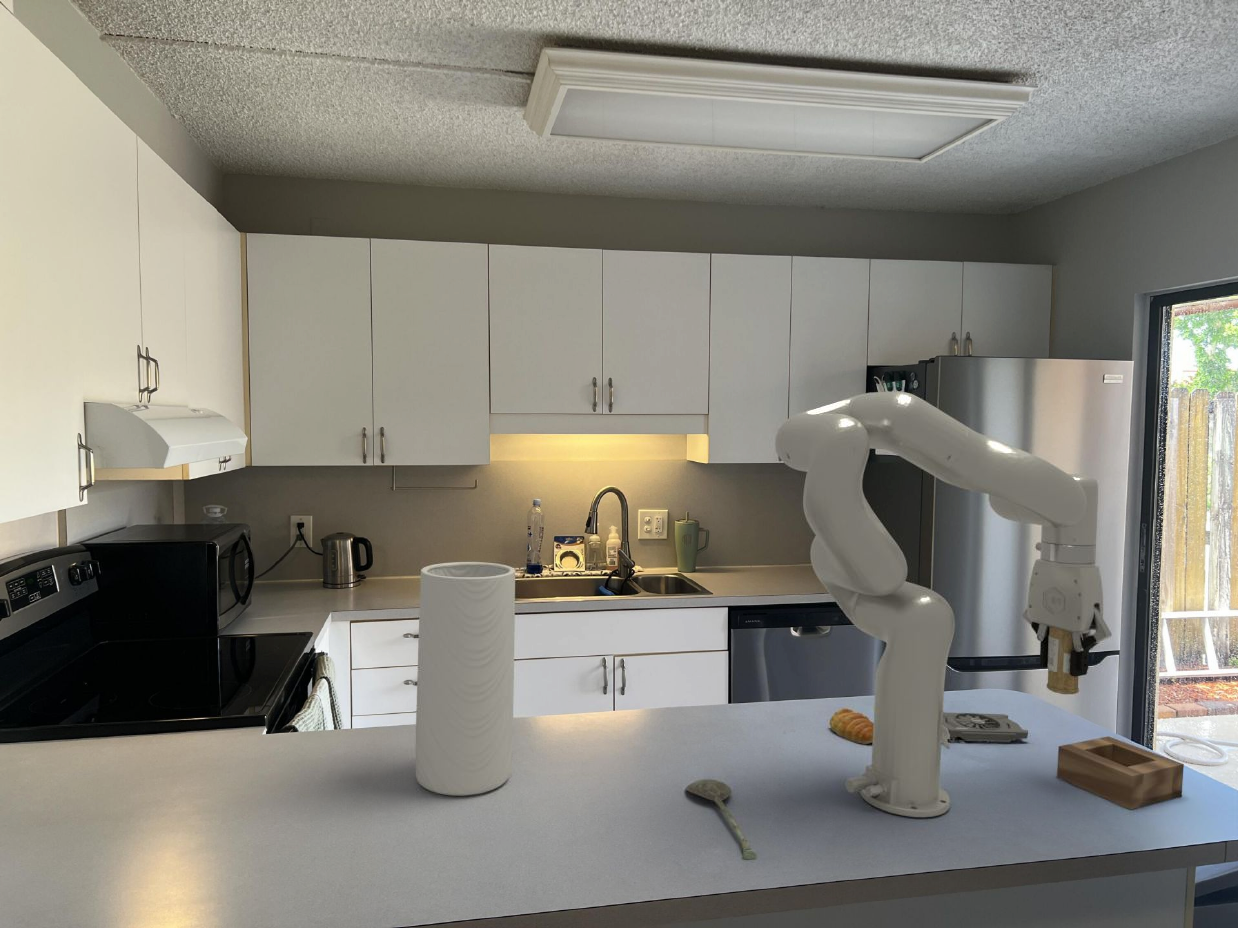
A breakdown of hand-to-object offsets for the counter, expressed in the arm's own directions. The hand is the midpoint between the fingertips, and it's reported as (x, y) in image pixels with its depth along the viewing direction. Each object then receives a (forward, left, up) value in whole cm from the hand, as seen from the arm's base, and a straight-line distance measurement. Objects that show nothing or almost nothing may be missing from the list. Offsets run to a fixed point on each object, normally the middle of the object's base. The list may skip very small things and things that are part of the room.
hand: (1063, 669), depth 131 cm
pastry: (-17, +27, -18) cm, 37 cm away
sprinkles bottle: (0, 0, -4) cm, 4 cm away
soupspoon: (-56, +9, -18) cm, 60 cm away
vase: (-86, +34, -18) cm, 94 cm away
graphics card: (+3, +19, -19) cm, 27 cm away
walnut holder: (+7, -5, -18) cm, 20 cm away
